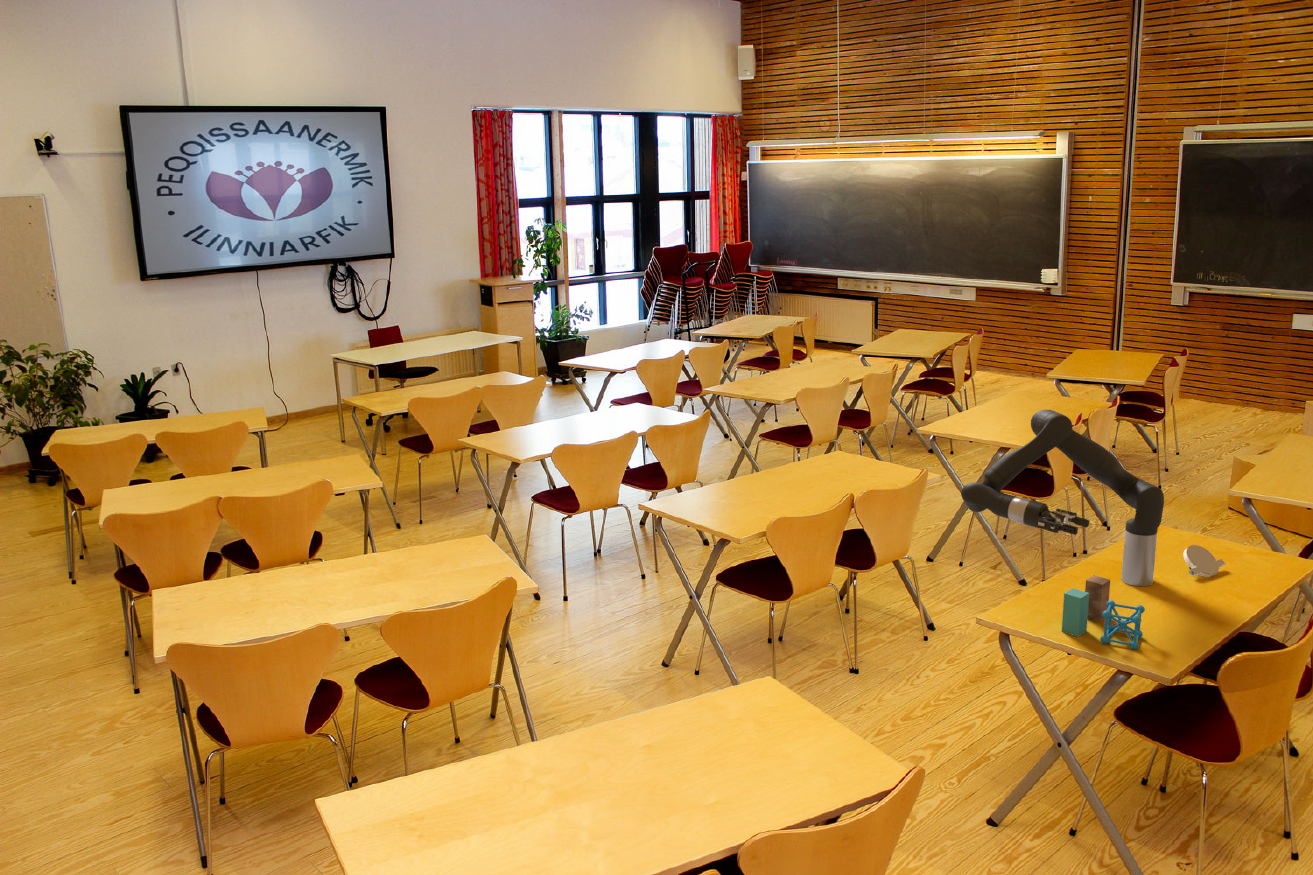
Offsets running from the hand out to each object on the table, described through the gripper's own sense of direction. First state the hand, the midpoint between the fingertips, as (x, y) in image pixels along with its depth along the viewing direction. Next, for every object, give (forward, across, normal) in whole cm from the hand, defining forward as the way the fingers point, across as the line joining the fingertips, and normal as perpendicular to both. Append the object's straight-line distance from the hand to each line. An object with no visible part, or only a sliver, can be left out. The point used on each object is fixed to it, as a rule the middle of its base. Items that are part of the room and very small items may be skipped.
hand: (1083, 527), depth 285 cm
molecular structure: (+15, +3, +31) cm, 34 cm away
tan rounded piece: (+18, +67, +28) cm, 74 cm away
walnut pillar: (+4, +14, +31) cm, 34 cm away
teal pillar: (+2, +1, +32) cm, 32 cm away
